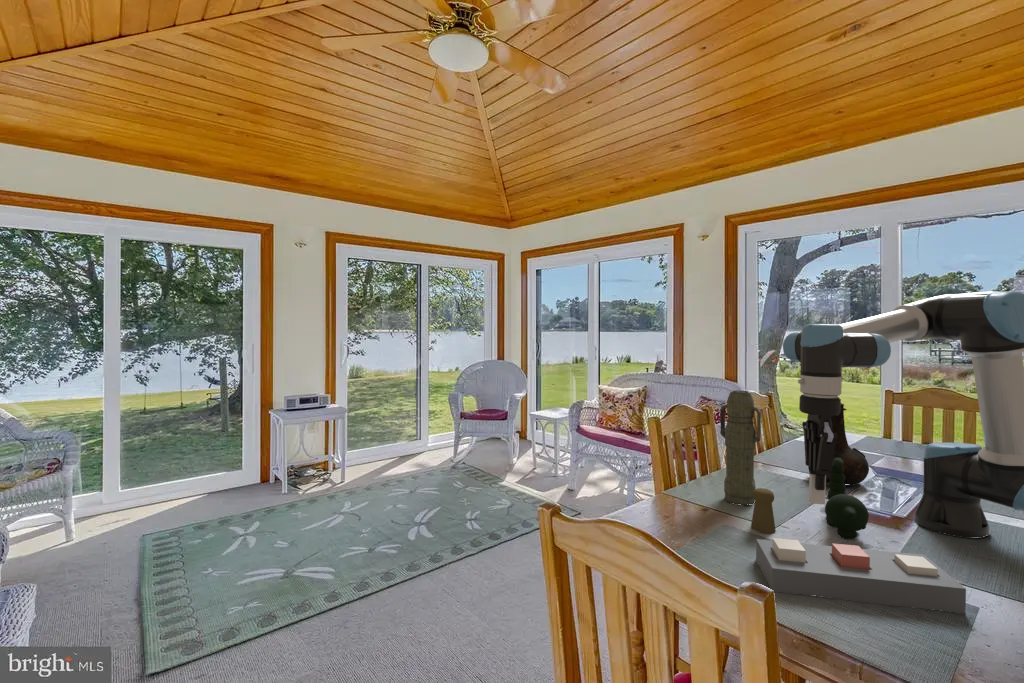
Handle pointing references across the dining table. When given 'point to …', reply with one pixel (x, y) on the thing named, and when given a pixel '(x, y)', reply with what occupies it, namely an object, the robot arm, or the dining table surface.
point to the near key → (915, 565)
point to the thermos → (740, 446)
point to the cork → (763, 511)
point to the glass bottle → (848, 453)
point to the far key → (788, 550)
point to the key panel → (860, 579)
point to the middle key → (850, 556)
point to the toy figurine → (843, 505)
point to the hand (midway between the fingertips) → (816, 502)
